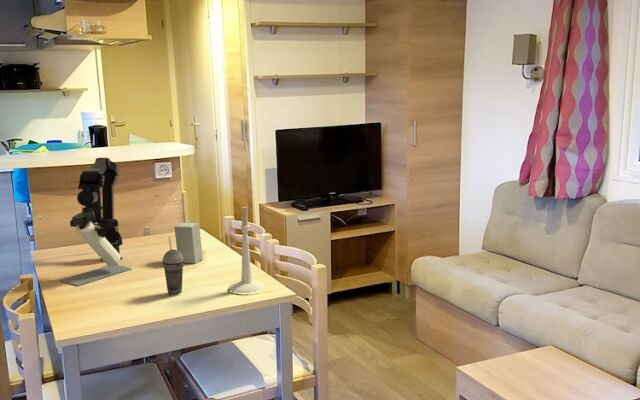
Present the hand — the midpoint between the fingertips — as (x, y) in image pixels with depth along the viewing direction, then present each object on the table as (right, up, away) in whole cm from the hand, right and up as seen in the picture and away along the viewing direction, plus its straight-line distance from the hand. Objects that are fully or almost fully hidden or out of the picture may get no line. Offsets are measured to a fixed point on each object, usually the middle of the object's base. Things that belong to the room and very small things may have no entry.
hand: (95, 245), depth 222 cm
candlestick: (+58, -15, -12) cm, 61 cm away
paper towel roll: (+4, -7, +9) cm, 12 cm away
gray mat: (-1, -12, +5) cm, 12 cm away
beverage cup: (+34, -16, -16) cm, 41 cm away
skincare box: (+31, -8, +22) cm, 39 cm away
